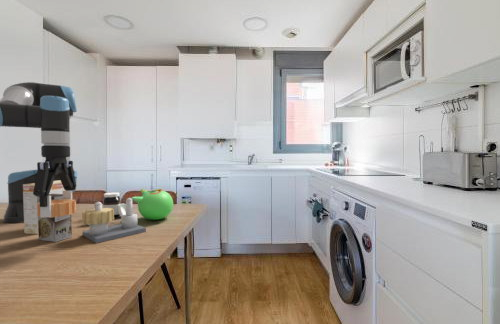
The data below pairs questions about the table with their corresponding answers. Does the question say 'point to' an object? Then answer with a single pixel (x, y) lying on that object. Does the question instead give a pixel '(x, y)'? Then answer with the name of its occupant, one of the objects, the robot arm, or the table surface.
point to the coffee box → (54, 225)
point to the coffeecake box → (35, 205)
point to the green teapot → (154, 204)
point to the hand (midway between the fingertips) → (57, 212)
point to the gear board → (102, 216)
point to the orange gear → (60, 207)
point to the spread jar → (114, 204)
